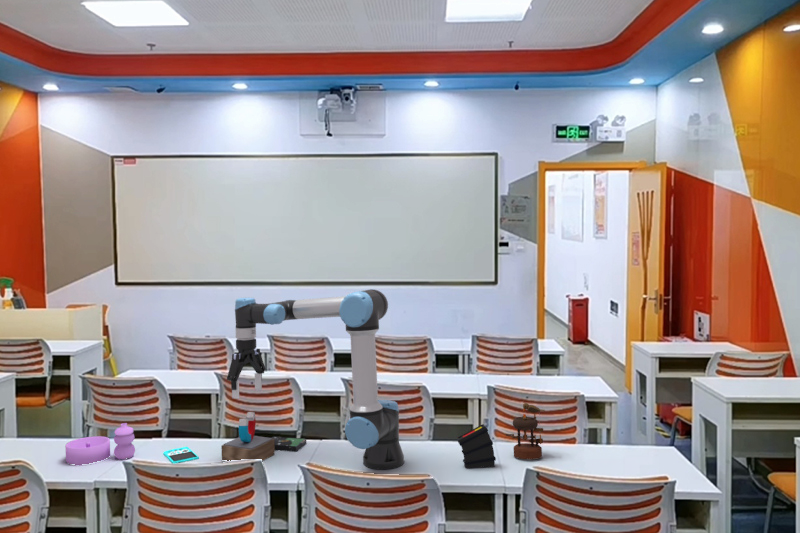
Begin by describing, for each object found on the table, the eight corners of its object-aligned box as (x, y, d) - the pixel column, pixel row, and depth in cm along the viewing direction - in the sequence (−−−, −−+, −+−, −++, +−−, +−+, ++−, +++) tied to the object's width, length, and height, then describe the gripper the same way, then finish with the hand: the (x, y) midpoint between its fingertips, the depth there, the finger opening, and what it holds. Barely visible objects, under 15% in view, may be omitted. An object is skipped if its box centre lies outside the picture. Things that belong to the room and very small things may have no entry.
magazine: (504, 462, 227) (486, 426, 226) (471, 479, 226) (453, 443, 225) (501, 459, 231) (483, 423, 230) (469, 475, 230) (451, 440, 229)
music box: (541, 451, 244) (541, 400, 243) (549, 461, 233) (549, 407, 232) (502, 452, 243) (502, 401, 242) (508, 462, 232) (508, 408, 231)
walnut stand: (274, 454, 244) (274, 438, 244) (252, 466, 231) (251, 448, 231) (245, 450, 250) (245, 433, 250) (221, 461, 237) (221, 444, 237)
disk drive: (262, 451, 251) (297, 453, 247) (262, 444, 251) (296, 445, 247) (273, 443, 261) (307, 444, 257) (273, 436, 261) (306, 437, 257)
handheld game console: (187, 449, 254) (187, 445, 254) (200, 460, 241) (199, 456, 241) (162, 454, 248) (161, 450, 248) (173, 465, 235) (172, 462, 235)
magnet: (246, 446, 234) (245, 419, 234) (238, 446, 234) (238, 419, 234) (256, 436, 246) (255, 411, 246) (249, 436, 246) (248, 411, 246)
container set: (58, 466, 234) (57, 431, 234) (76, 452, 250) (75, 420, 249) (127, 464, 236) (126, 429, 236) (141, 450, 251) (140, 418, 251)
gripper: (232, 344, 226) (233, 402, 227) (273, 334, 249) (274, 387, 250) (215, 342, 229) (217, 400, 230) (258, 333, 252) (259, 386, 253)
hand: (247, 394), depth 240 cm, fingers open, 13 cm apart
